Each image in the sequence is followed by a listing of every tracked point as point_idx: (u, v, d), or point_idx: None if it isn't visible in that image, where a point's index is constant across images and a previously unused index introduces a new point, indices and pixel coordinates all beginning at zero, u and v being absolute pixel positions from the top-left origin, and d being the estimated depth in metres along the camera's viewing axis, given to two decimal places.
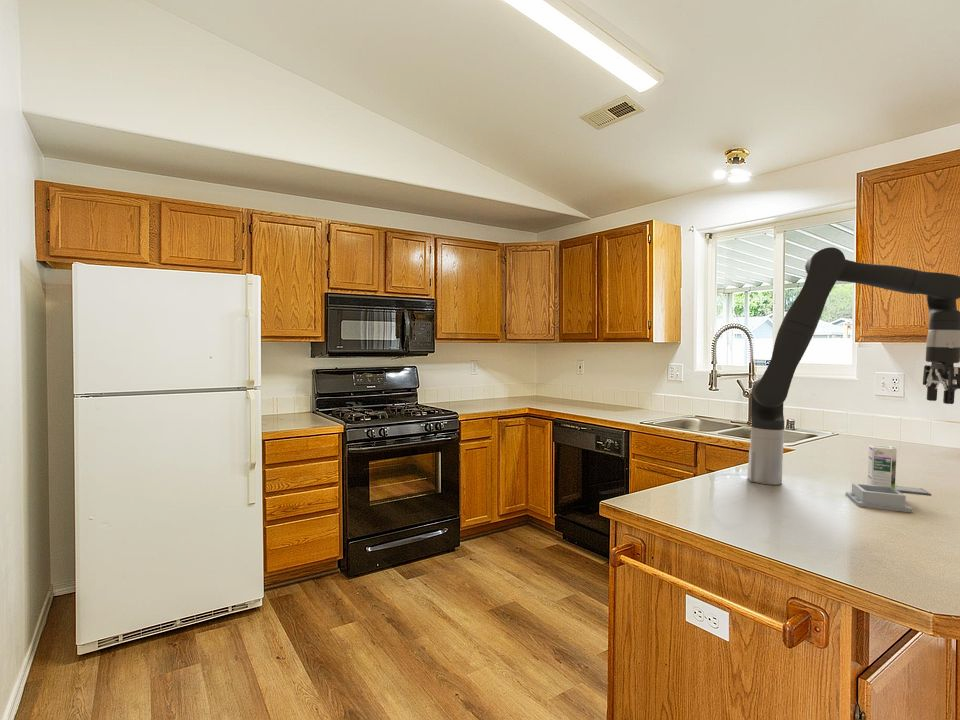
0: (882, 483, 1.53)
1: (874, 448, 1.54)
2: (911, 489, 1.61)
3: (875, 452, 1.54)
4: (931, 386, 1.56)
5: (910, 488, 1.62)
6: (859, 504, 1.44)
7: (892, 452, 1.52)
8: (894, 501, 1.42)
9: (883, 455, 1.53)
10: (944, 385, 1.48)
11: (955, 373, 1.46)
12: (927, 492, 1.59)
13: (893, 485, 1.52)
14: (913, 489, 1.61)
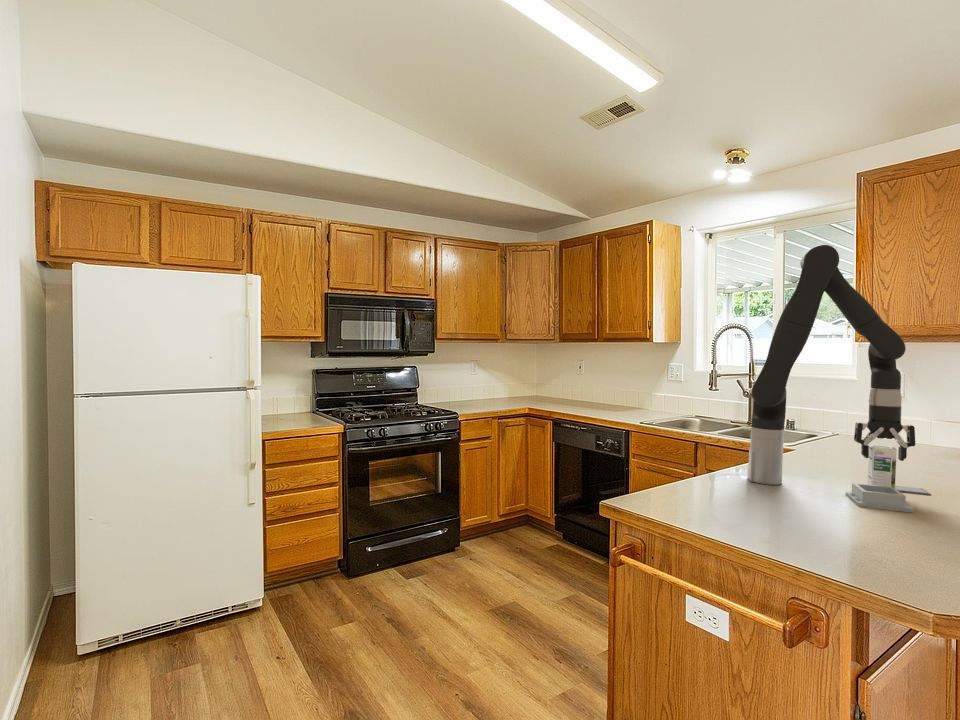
0: (882, 483, 1.53)
1: (874, 448, 1.54)
2: (911, 489, 1.61)
3: (875, 452, 1.54)
4: None
5: (910, 488, 1.62)
6: (859, 504, 1.44)
7: (892, 452, 1.52)
8: (894, 501, 1.42)
9: (883, 455, 1.53)
10: (903, 443, 1.53)
11: None
12: (927, 492, 1.59)
13: (893, 485, 1.52)
14: (913, 489, 1.61)
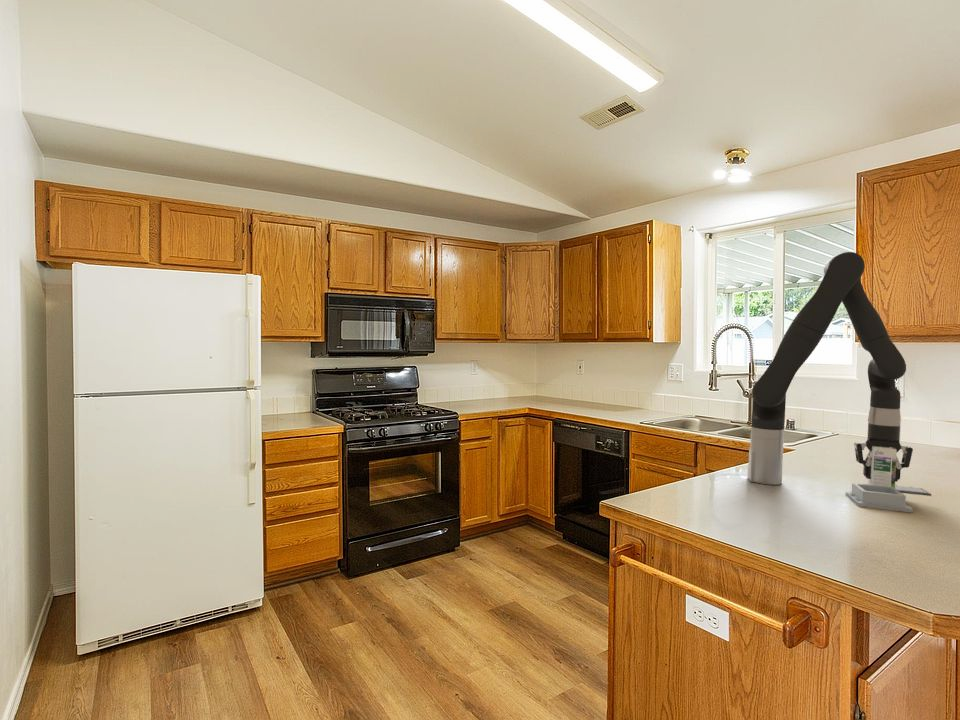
0: (882, 483, 1.53)
1: (874, 448, 1.54)
2: (911, 489, 1.61)
3: (875, 452, 1.54)
4: None
5: (910, 488, 1.62)
6: (859, 504, 1.44)
7: (892, 452, 1.52)
8: (894, 501, 1.42)
9: (883, 455, 1.53)
10: (897, 464, 1.53)
11: None
12: (927, 492, 1.59)
13: (893, 485, 1.52)
14: (913, 489, 1.61)
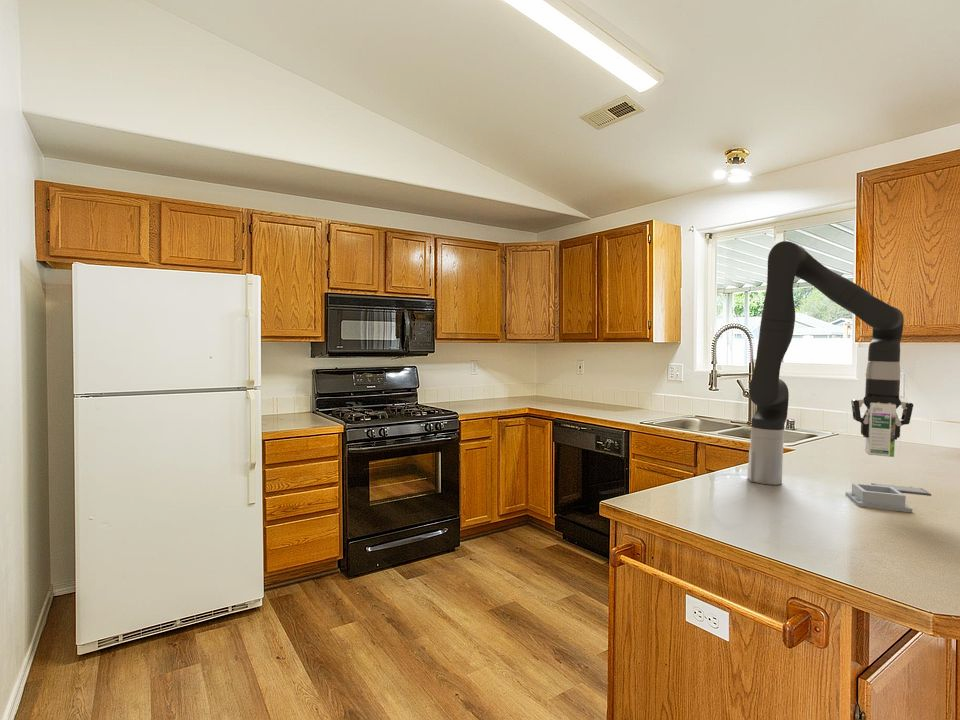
0: (881, 441, 1.44)
1: (872, 404, 1.45)
2: (911, 489, 1.61)
3: (873, 409, 1.45)
4: None
5: (910, 488, 1.62)
6: (859, 504, 1.44)
7: (892, 408, 1.43)
8: (894, 501, 1.42)
9: (882, 412, 1.44)
10: (897, 421, 1.44)
11: None
12: (927, 492, 1.59)
13: (892, 443, 1.43)
14: (913, 489, 1.61)
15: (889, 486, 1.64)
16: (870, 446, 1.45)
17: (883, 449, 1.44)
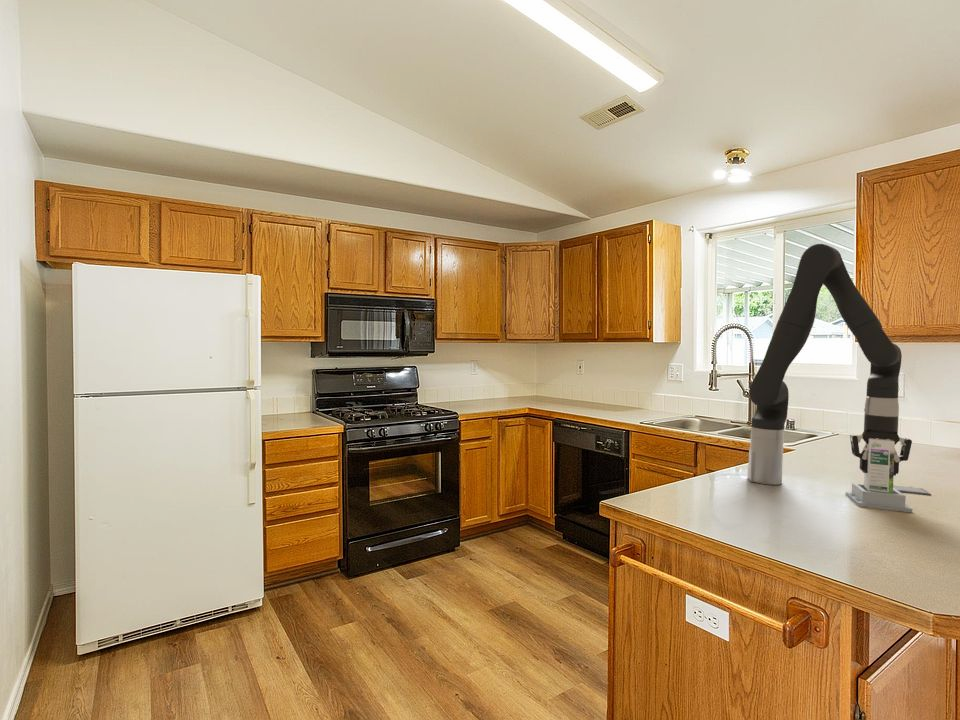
0: (880, 477, 1.44)
1: (871, 440, 1.45)
2: (911, 489, 1.61)
3: (872, 445, 1.45)
4: None
5: (910, 488, 1.62)
6: (859, 504, 1.44)
7: (890, 444, 1.43)
8: (894, 501, 1.42)
9: (881, 448, 1.44)
10: (896, 457, 1.44)
11: None
12: (927, 492, 1.58)
13: (891, 479, 1.43)
14: (913, 489, 1.61)
15: None
16: (869, 482, 1.46)
17: (882, 485, 1.44)
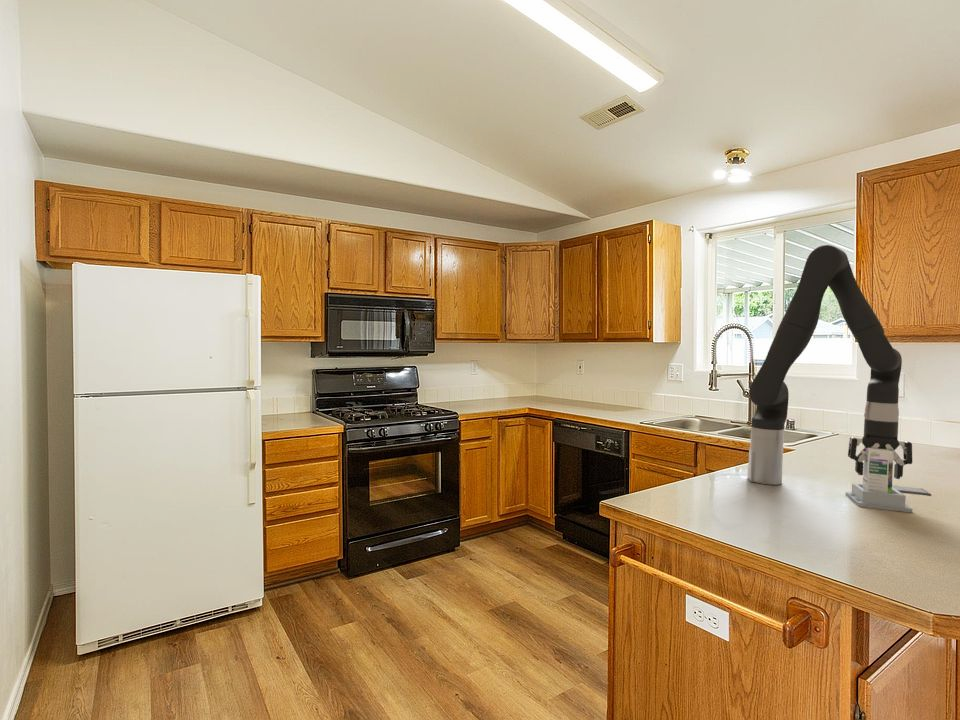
0: (879, 487, 1.44)
1: (870, 450, 1.46)
2: (911, 489, 1.61)
3: (871, 454, 1.45)
4: None
5: (910, 488, 1.62)
6: (859, 504, 1.44)
7: (889, 454, 1.44)
8: (894, 501, 1.42)
9: (879, 457, 1.44)
10: (899, 460, 1.44)
11: None
12: (927, 492, 1.58)
13: (890, 489, 1.43)
14: (913, 489, 1.61)
15: None
16: None
17: None
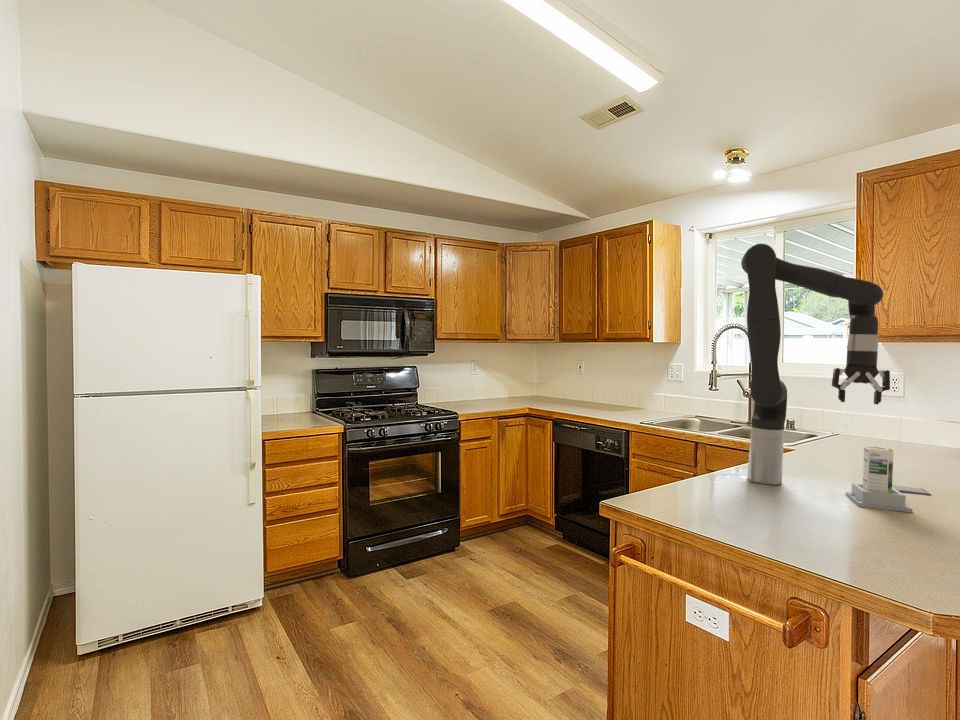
0: (879, 487, 1.44)
1: (870, 450, 1.46)
2: (911, 489, 1.61)
3: (871, 454, 1.45)
4: None
5: (910, 488, 1.62)
6: (859, 504, 1.44)
7: (889, 454, 1.44)
8: (894, 501, 1.42)
9: (879, 457, 1.44)
10: (878, 387, 1.58)
11: None
12: (927, 492, 1.58)
13: (890, 489, 1.43)
14: (913, 489, 1.61)
15: None
16: None
17: None
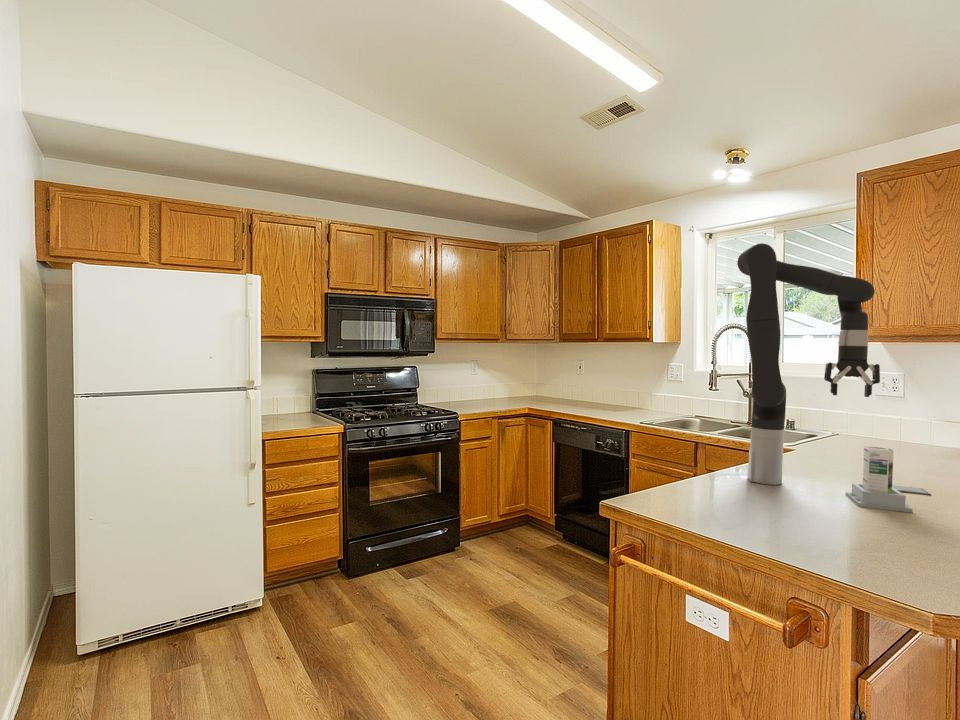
0: (879, 487, 1.44)
1: (870, 450, 1.46)
2: (911, 489, 1.61)
3: (871, 454, 1.45)
4: None
5: (910, 488, 1.62)
6: (859, 504, 1.44)
7: (889, 454, 1.44)
8: (894, 501, 1.42)
9: (879, 457, 1.44)
10: (868, 380, 1.64)
11: None
12: (927, 492, 1.58)
13: (890, 489, 1.43)
14: (913, 489, 1.61)
15: None
16: None
17: None
